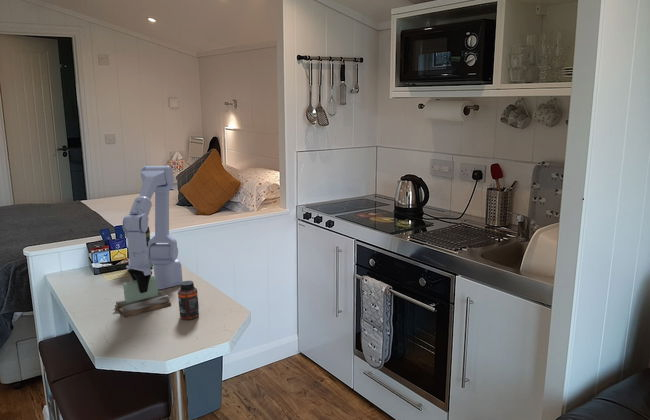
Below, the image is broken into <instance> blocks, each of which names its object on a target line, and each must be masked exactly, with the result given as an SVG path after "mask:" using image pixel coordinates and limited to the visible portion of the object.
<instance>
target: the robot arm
mask: <svg viewBox="0 0 650 420" xmlns="http://www.w3.org/2000/svg"><path fill="white" fill-rule="evenodd" d="M140 170H141V171H140V178H141V181H142V185H141V189H140V193H139V196H137V197H135V198H134V200H133V203H132V206H131V208H130V211H129V214H128V215H126V216H124V217H123V219H122V225H121V227H122V230H123V232H124V237H125V239H127V250H128V265H126V266H125V268H126V269H127V272H128V274H129V275H130V277H131V279H132V281H134V280H137V283H138V287H139V291H140V293H145V292H147V290H148V284H149V280H150V277H151V276H154V277H155V278H157V287H158V291H159V290H161V291H162V290H164V289H169V288H172V287H173V288H174V287H176V286H180V283H181V282H183V269H182V268H183V267H182V264H181V262H180V259H178V257H179V248H178V242H177V240H176V239H175V238H174V237H173V236H171V235H170V190H172V189H173V188H174V181H175V179H174V178H175V177H174V170H173V168H172V167H171V166H170V165H143V167H142V168H141V169H140ZM153 195H154V236H152V237H151V238H150V240H149V242H148V248H147V243H146V231H147V229H148V227H149V215H150V211H151V208H152V206H153V204H152V201H151V199H152V198H153ZM148 259H149V260H150V261H151V263H153V267H152V268H153V271H152V268H149V262H148Z"/></svg>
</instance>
